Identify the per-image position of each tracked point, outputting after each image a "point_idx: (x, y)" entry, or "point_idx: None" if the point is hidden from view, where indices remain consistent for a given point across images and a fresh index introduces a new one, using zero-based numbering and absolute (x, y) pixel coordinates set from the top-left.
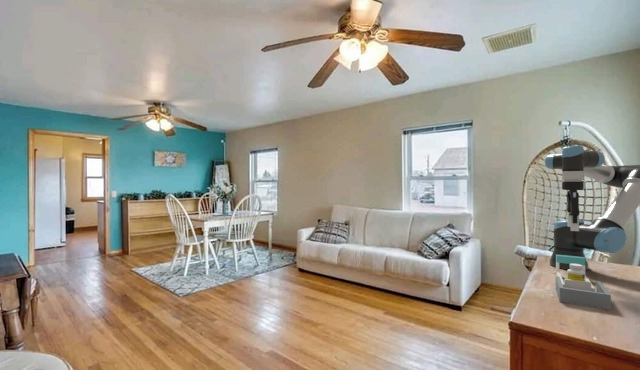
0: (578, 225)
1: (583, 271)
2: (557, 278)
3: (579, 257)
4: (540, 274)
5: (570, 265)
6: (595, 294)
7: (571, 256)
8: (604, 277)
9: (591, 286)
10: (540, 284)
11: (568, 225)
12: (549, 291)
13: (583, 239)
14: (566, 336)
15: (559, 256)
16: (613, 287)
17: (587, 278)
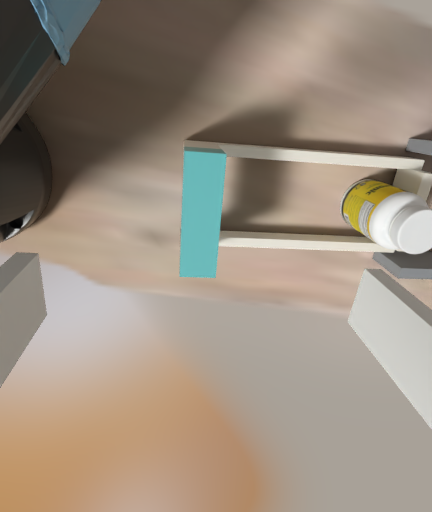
0: (420, 304)
1: (413, 198)
2: (428, 276)
3: (207, 178)
4: (203, 284)
5: (420, 251)
6: None
7: (198, 214)
8: (115, 37)
9: (400, 164)
10: (338, 292)
11: (41, 316)
12: None
13: (2, 135)
14: None
15: (216, 265)
16: (290, 54)
17: (284, 151)
